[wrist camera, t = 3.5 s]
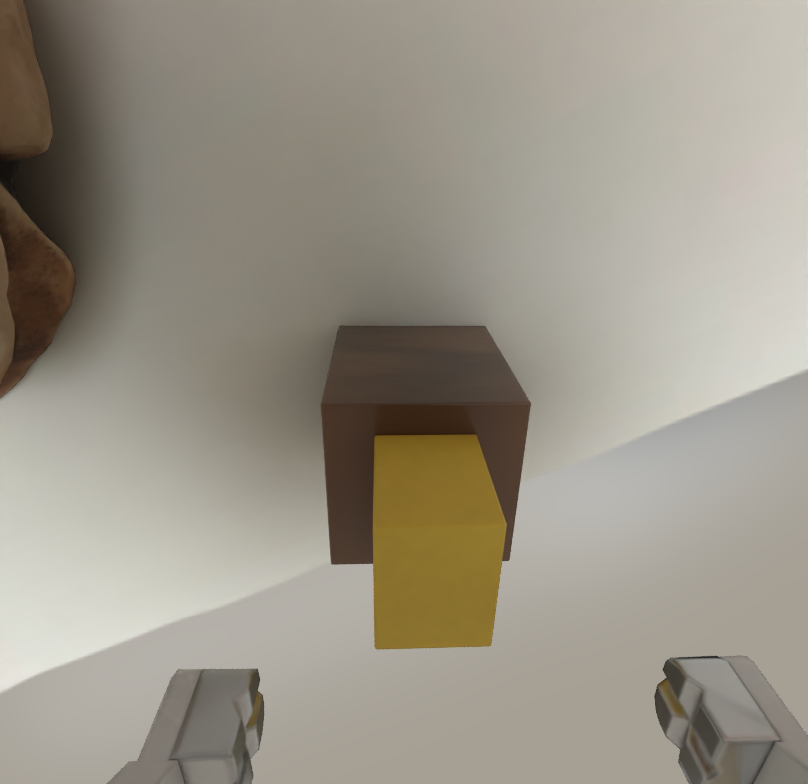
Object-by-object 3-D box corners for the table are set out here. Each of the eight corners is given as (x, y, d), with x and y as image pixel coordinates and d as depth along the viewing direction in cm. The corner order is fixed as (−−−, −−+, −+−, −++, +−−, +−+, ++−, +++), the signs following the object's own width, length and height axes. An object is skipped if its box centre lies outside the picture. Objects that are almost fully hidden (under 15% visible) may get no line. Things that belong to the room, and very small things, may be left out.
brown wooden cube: (344, 451, 23) (330, 565, 17) (338, 325, 21) (320, 404, 14) (474, 450, 23) (509, 561, 17) (485, 325, 21) (531, 402, 14)
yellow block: (375, 540, 16) (374, 650, 13) (374, 434, 15) (372, 526, 11) (467, 539, 17) (491, 647, 13) (476, 433, 15) (507, 524, 11)
